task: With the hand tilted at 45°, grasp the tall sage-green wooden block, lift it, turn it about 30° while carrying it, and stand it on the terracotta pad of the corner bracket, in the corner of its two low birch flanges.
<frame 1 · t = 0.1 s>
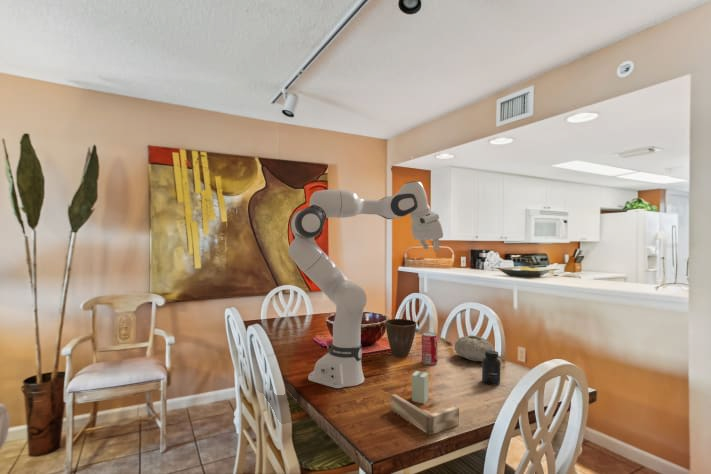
hand: (431, 249, 158), 52 cm above the table, tool tilted 20°, fingers open, 8 cm apart
sage block: (420, 399, 129), on the table
soda can: (429, 363, 168), on the table
corner bracket: (423, 417, 117), on the table
plant pot: (400, 355, 179), on the table
decorative shell: (473, 359, 174), on the table
supplement bottle: (491, 382, 146), on the table
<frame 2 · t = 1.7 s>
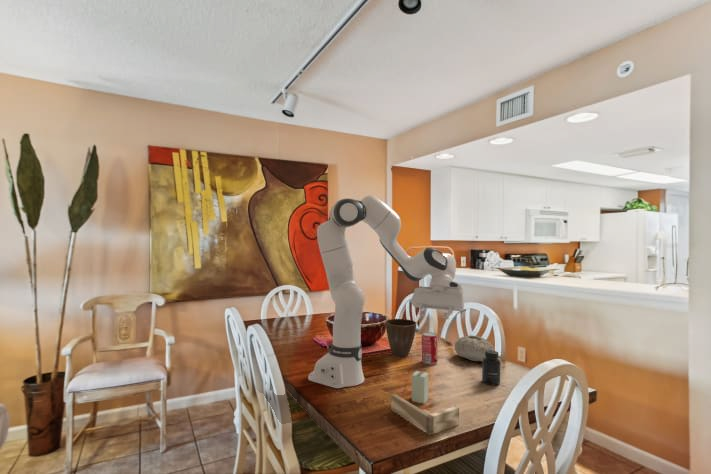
hand: (433, 317, 140), 27 cm above the table, tool tilted 45°, fingers open, 8 cm apart
nothing on the table moved.
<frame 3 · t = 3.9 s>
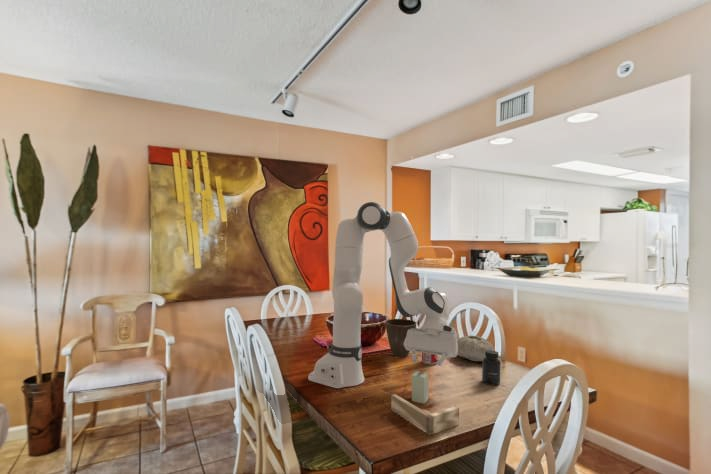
hand: (426, 363, 136), 11 cm above the table, tool tilted 45°, fingers open, 8 cm apart
nothing on the table moved.
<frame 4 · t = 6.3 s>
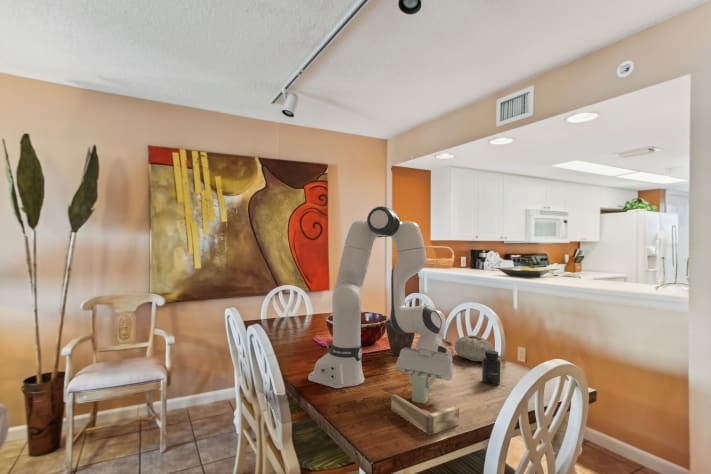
hand: (419, 386, 129), 5 cm above the table, tool tilted 45°, fingers closed on sage block, 4 cm apart
sage block: (420, 399, 129), on the table, touching gripper
everything else where it was.
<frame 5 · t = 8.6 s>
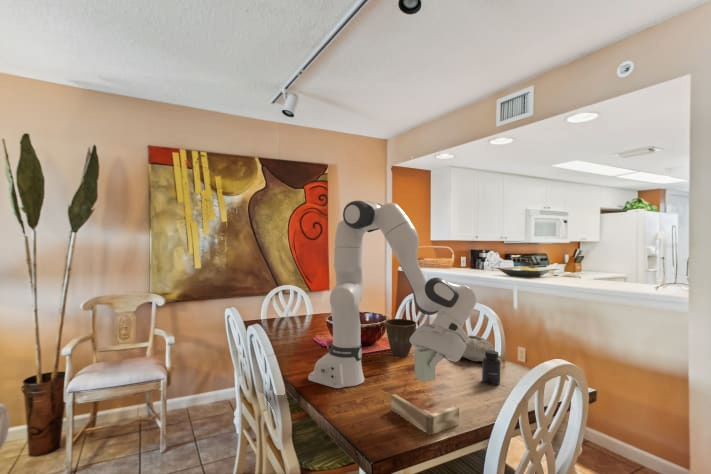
hand: (423, 363, 117), 17 cm above the table, tool tilted 45°, fingers closed on sage block, 4 cm apart
sage block: (424, 378, 117), point 12 cm above the table, touching gripper
everything else where it was.
when the fingers open (6 cm above the table, at t = 11.0 s): sage block stays where it is, resting on corner bracket.
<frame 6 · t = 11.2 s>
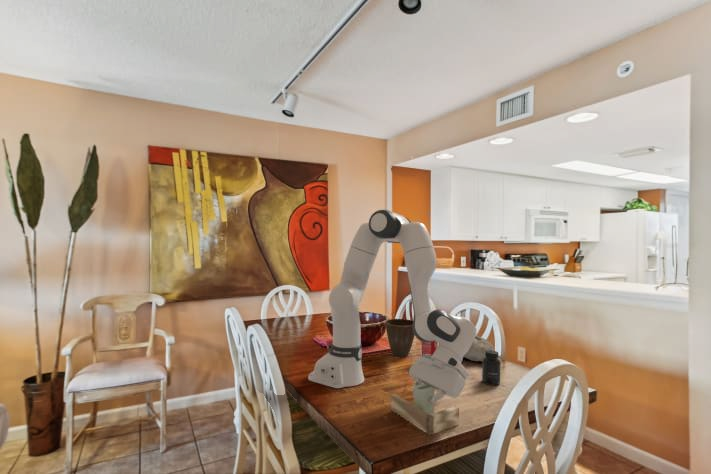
hand: (422, 398, 117), 6 cm above the table, tool tilted 45°, fingers open, 7 cm apart
sage block: (423, 416, 117), resting on corner bracket
everything else where it was.
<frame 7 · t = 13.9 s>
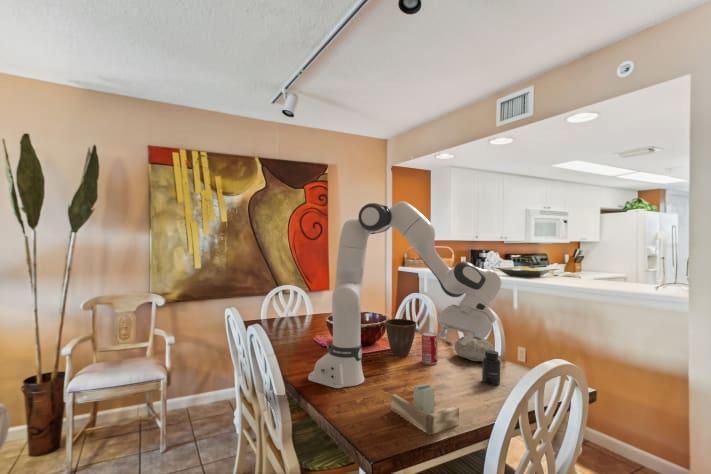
hand: (451, 339, 126), 22 cm above the table, tool tilted 45°, fingers open, 8 cm apart
nothing on the table moved.
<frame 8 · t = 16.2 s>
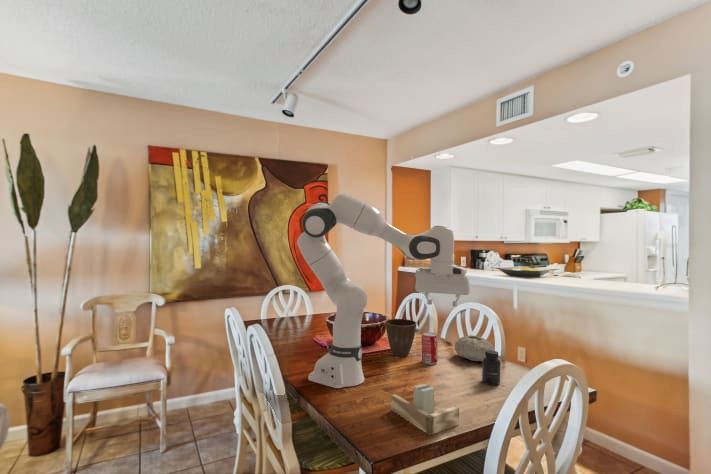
hand: (442, 305, 140), 31 cm above the table, tool pointing down, fingers open, 8 cm apart
nothing on the table moved.
at the end: sage block 0.1 cm off-centre on the corner bracket, point 0.3 cm above the corner bracket's base; sage block tilted 0°; the gripper is holding nothing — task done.
